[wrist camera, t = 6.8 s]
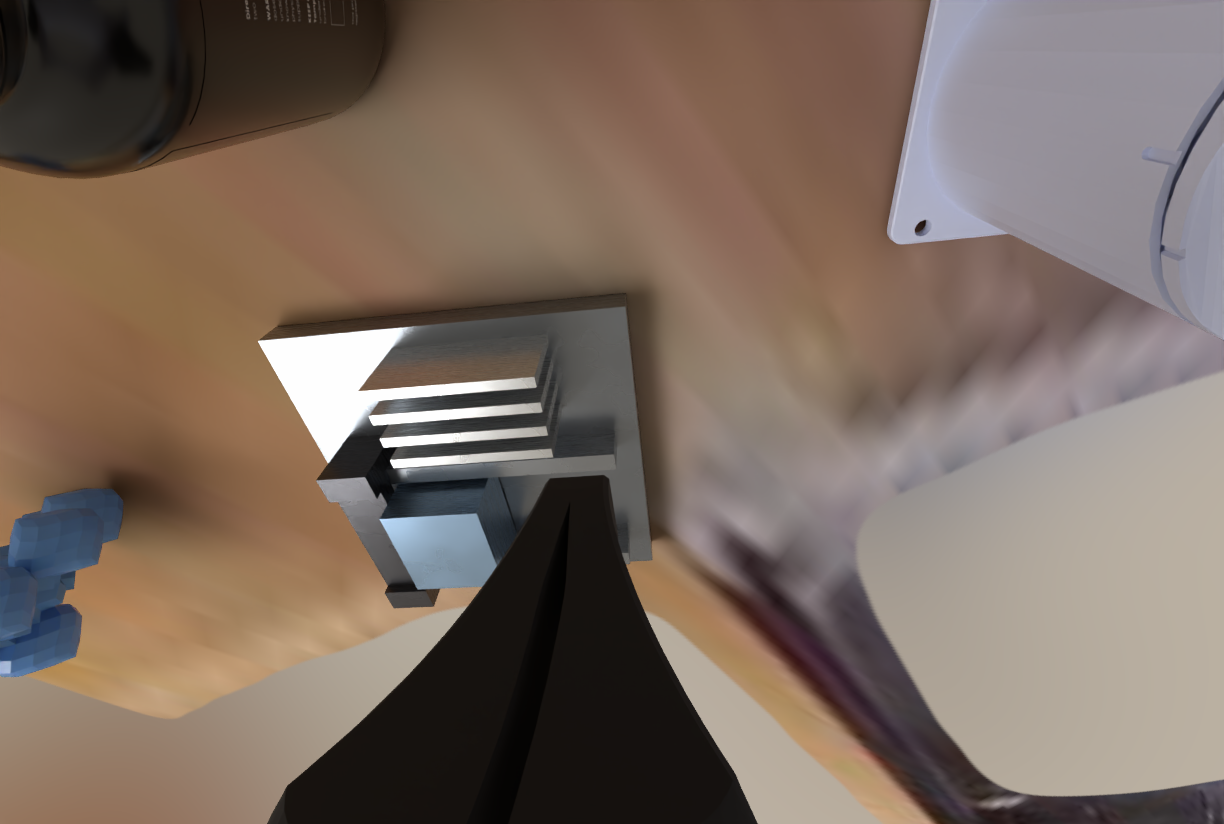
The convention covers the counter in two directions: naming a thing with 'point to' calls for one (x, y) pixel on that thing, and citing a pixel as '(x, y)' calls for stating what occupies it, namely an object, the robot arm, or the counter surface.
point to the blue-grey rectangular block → (449, 530)
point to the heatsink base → (469, 410)
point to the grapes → (50, 576)
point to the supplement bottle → (172, 77)
